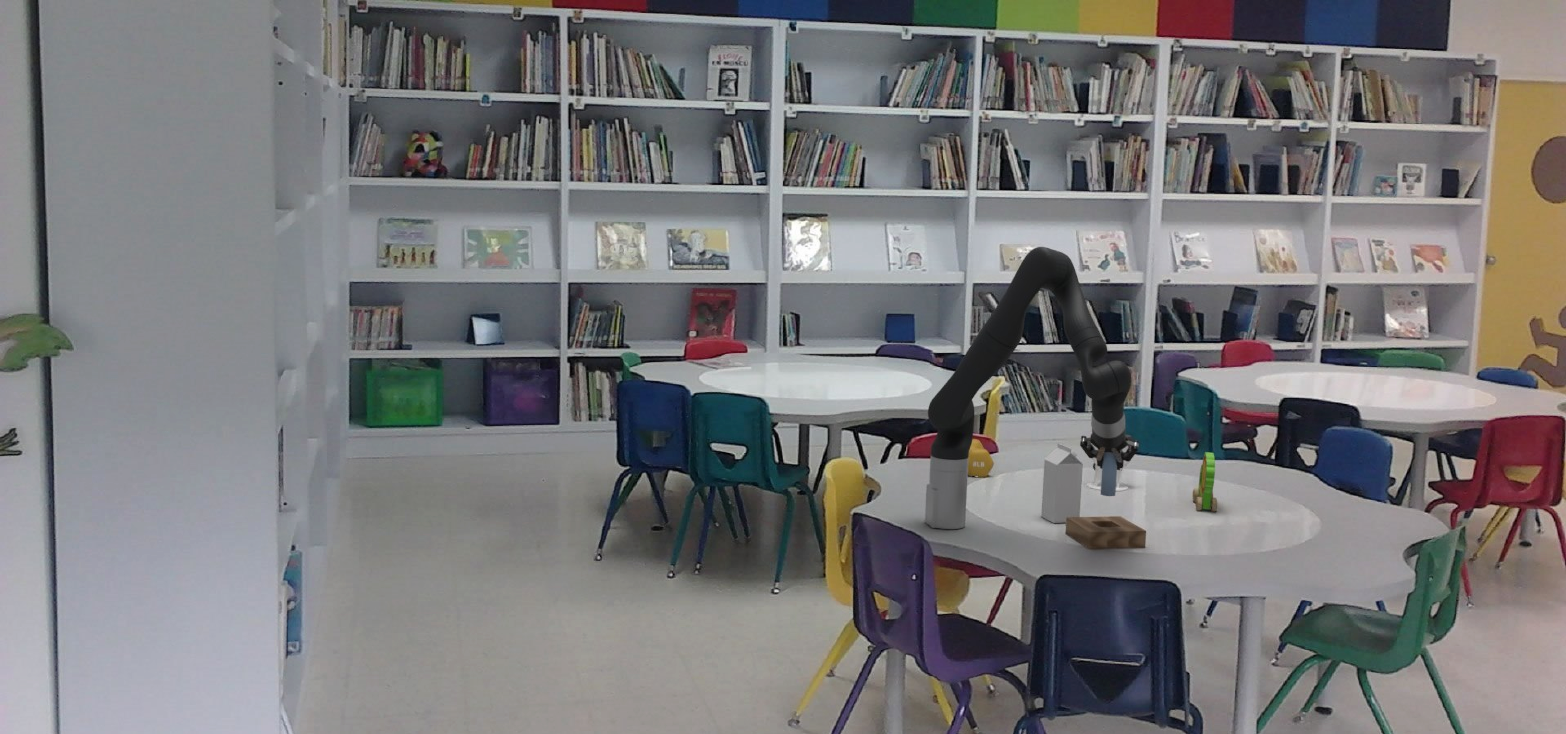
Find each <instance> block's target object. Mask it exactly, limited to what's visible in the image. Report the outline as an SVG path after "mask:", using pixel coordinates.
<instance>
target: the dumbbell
mask: <svg viewBox="0 0 1566 734" xmlns="http://www.w3.org/2000/svg"><path fill="white" fill-rule="evenodd" d="M994 463H995V462H994V460H993V457H992V455H991V454H990V452H989V451H988V449H985V448H984V446H983V444H982V443H981V441H980V440H979V439H976V438H973V439H972V444H971V447H970V449H969V459H968V477H970V476H978V477H977V478H987V476H989V474H990V472H991V471H992V469H993V468H994Z"/></svg>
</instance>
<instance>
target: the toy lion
mask: <svg viewBox="0 0 1566 734" xmlns="http://www.w3.org/2000/svg"><path fill="white" fill-rule="evenodd" d="M1215 469H1216V460H1215V454H1214V452H1206V451H1205V452H1204V454H1203V458H1202V464H1201V466H1200V470H1199V480H1198V488H1193V490H1192V501H1193V502H1194V503H1195V510H1196V511H1202V509H1203V510H1210V512H1217V509H1218V499H1217V497H1214V486H1215V485H1214V484H1215V475H1216V474H1215V473H1216V470H1215Z"/></svg>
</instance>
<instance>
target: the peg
mask: <svg viewBox="0 0 1566 734" xmlns="http://www.w3.org/2000/svg"><path fill="white" fill-rule="evenodd" d="M1116 476H1117V459H1116V458H1115V456H1114V454H1113V453H1111V452H1104V454H1103V464H1102V480H1101V491H1100V495H1101V496H1104V497H1115V496H1116V493H1117V492H1116Z"/></svg>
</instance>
